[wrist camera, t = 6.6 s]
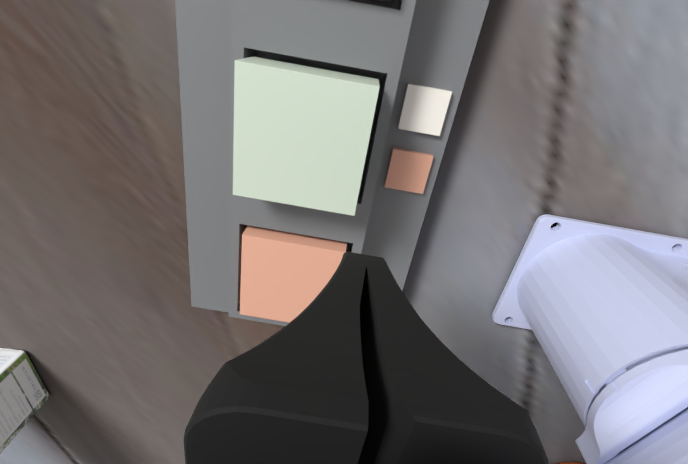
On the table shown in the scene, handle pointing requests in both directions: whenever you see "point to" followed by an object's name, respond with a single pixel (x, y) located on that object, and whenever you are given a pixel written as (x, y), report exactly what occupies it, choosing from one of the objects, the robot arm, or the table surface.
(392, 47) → the stepped grey tray
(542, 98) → the table surface
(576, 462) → the toy tea set
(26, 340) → the table surface
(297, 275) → the terracotta key
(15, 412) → the syrup box
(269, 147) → the sage key
